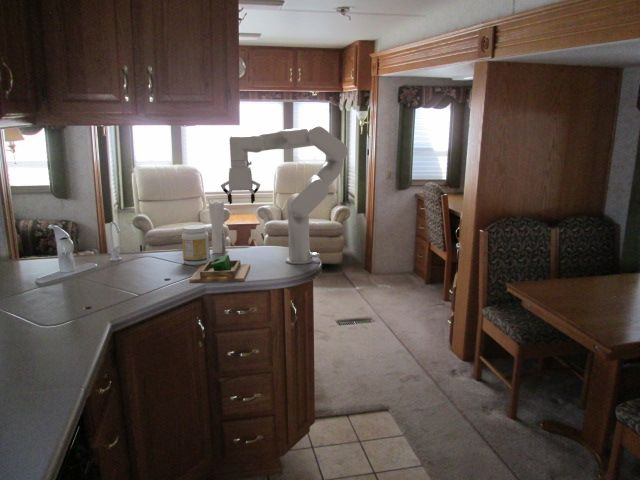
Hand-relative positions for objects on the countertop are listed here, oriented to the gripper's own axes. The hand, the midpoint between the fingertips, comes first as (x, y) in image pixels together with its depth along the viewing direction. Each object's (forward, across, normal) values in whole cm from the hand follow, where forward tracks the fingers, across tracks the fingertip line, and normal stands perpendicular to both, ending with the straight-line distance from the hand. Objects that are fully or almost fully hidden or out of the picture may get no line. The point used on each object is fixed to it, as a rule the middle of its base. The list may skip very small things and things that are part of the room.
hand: (241, 203), depth 219 cm
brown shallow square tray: (+28, +8, +15) cm, 33 cm away
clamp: (+27, +8, +15) cm, 32 cm away
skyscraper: (+29, +16, -25) cm, 41 cm away
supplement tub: (+28, +23, -6) cm, 37 cm away
